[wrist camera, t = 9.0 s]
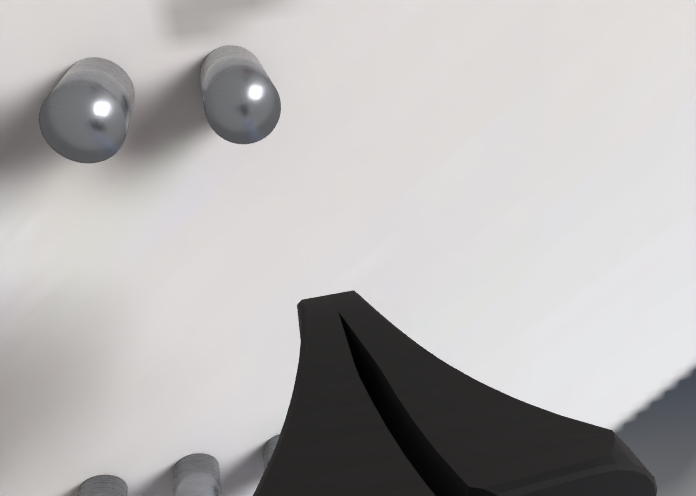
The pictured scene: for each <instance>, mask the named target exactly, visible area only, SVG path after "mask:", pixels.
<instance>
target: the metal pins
mask: <svg viewBox="0 0 696 496" xmlns="http://www.w3.org/2000/svg"><path fill="white" fill-rule="evenodd" d="M200 82H201V89H202V96H203V102H204V109H205V114H206V118H207V121H208V123H209V125H210V126H211V128H212V129H213V130H214V131H215V132H216V133H217V134H218V135H219V136H220V137H222V138H223V139H225V140H227V141H229V142H232V143H237V144H250V143H254V142H257V141H260V140H262V139H263V138H265V137H266V136H267V135H269V134H270V133H271V132H272V131H273V129H274V128H275V126H276V124H277V123H278V120H279V117H280V111H281V103H280V98H279V94H278V92H277V90H276V88H275V87H274V85H273V83H272V82H271V80H270V78H269V77H268V75H267V74H266V72H265V70H264V69H263V67H262V65H261V64H260V62H259V61H258V59H257V58H256V57H255V56H254V55H253V54H252V53H251V52H250V51H248V50H246V49H244V48H242V47H239V46H232V45H231V46H223V47H220V48H217V49H215V50H214V51H212V52H211V53H210V54H209V55H208V56H207V57H206V59H205V60H204V62H203V64H202V67H201V71H200ZM134 99H135V92H134V87H133V84H132V81H131V79H130V78H129V76H128V75H127V73H126V72H125V71H124V70H123V69H122V68H121V67H119V66H118V65H117V64H115V63H113V62H111V61H109V60H106V59H102V58H86V59H83V60H80V61H78V62H76V63H75V64H74V65H72V66H71V67H70V69H69V70H68V71H67V72H66V74H65V75H64V76H63V77H62V79H61V80H60V81H59V83H58V84H57V85H56V87H55V88H54V89H53V90H52V92H51V93H50V94H49V96H48V97H47V98H46V99H45V101H44V103H43V104H42V107H41V109H40V114H39V125H40V129H41V132H42V135H43V137H44V138H45V140H46V142H47V143H48V144H49V145H50V146H51V148H52V149H53V150H55V151H56V152H57V153H58V154H60V155H61V156H63V157H65V158H67V159H70V160H72V161H76V162H80V163H96V162H100V161H104V160H106V159H108V158H110V157H111V156H113V155H114V154H115V153H116V152H117V151H118V150H119V149H120V148H121V146H122V144H123V142H124V139H125V136H126V132H127V128H128V124H129V120H130V116H131V112H132V108H133V104H134ZM279 436H280V435H278V436H275V437H274V438H272V439H271V440H269V441H268V442H267V443H266V445H265V446H264V448H263V458H264V464H265V470H266V467H267V465H268V463H269V461H270V459H271V457H272V454H273V452H274V449H275V447H276V444H277V442H278V439H279ZM127 493H128V487H127V484H126V483H125V482H124V481H123V480H122V479H120V478H118V477H115V476H111V475H101V476H96V477H93V478H90V479H88V480H87V481H85V482H84V483H83V484H82V485H81V486H80V488H79V491H78V496H127ZM173 496H222V495H221V482H220V469H219V463H218V461H217V460H216V459H215V458H214V457H213V456H210V455H208V454H193V455H189V456H187V457H184V458H183V459H181V460H180V461H179V462H178V463H177V464H176V465H175V467H174V471H173Z"/></svg>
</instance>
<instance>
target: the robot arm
mask: <svg viewBox="0 0 696 496" xmlns="http://www.w3.org/2000/svg"><path fill="white" fill-rule="evenodd" d="M297 309H298V319H299V328H300V338H301V345H300V357H299V364H298V369H297V375H296V380H295V385H294V390H293V394H292V398H291V402H290V405H289V409H288V412H287V416H286V419H285V422H284V425H283V428H282V430H281V433H280V436H279V439H278V442H277V444H276V447H275V449H274V452H273V454H272V457H271V459H270V461H269V463H268V465H267V467H266V470H265V472H264V474H263V476H262V478H261V480H260V483H259V485H258V487H257V489H256V491H255V493H254V494H253V496H656V493H657V487H656V482H655V478H654V477H653V476H652V475H651V473H650V472H649V471H648V470H647V469H646V467H645V466H644V465H643V464H642V463H641V461H640V460H639V459H638V458H637V457H636V455H635V454H634V453H633V452H632V451H631V449H630V448H629V447H628V446H627V445H626V444H625V443H624V442H623V441H622V440H621V439H620V438H619V437H618V436H617V435H616V434H615V433H614V432H613V431H612V430H609V429H606V428H602V427H599V426H595V425H592V424H588V423H585V422H581V421H578V420H574V419H571V418H567V417H564V416H561V415H558V414H555V413H552V412H550V411H547V410H544V409H541V408H538V407H536V406H533V405H530V404H528V403H525V402H523V401H520V400H518V399H515V398H513V397H511V396H509V395H506V394H504V393H502V392H500V391H498V390H495V389H493V388H491V387H489V386H487V385H485V384H483V383H481V382H479V381H477V380H475V379H473V378H471V377H469V376H468V375H466V374H464V373H462V372H461V371H459V370H457V369H455V368H453V367H452V366H450V365H448V364H447V363H445V362H443V361H442V360H440V359H439V358H437V357H436V356H434V355H433V354H431V353H430V352H428V351H427V350H426V349H424V348H423V347H421V346H420V345H419V344H417V343H416V342H415V341H413V340H412V339H411V338H409V337H408V336H407V335H405V334H404V333H403V332H402V331H400V330H399V329H398V328H397V327H395V326H394V325H393V324H392V323H390V322H389V321H388V320H387V319H386V318H385V317H383V316H382V315H381V314H380V313H379V312H378V311H377V310H375V309H374V308H373V307H372V306H371V305H370V304H369V303H368V302H366V301H365V300H364V299H363V298H362V297H361V296H360V295H359V294H358V293H356V292H355V291H348V292H342V293H337V294H331V295H326V296H320V297H315V298H309V299H304V300H301V301H300V302H299V303H298V305H297Z"/></svg>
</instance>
